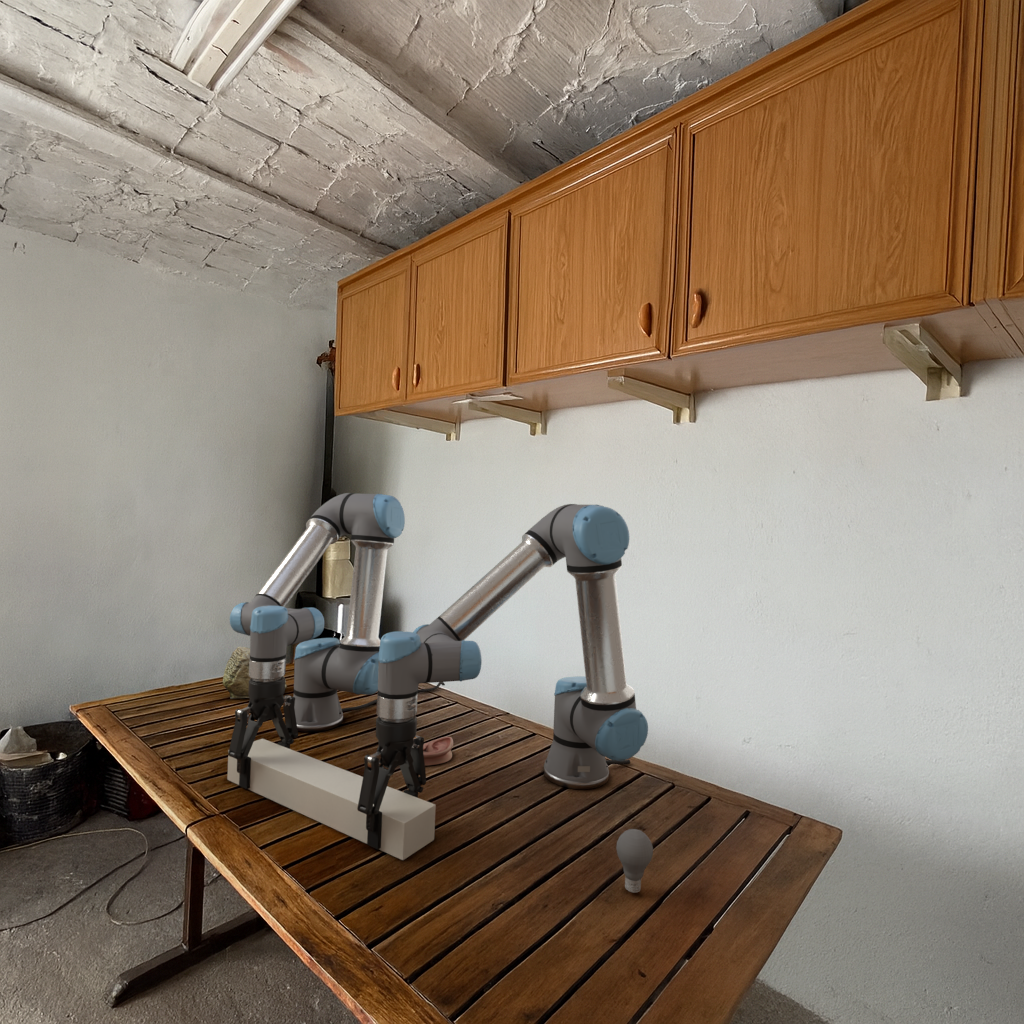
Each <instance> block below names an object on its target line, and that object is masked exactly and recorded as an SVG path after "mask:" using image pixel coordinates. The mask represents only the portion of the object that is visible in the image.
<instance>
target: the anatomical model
mask: <svg viewBox="0 0 1024 1024" xmlns="http://www.w3.org/2000/svg"><path fill="white" fill-rule="evenodd" d="M453 747H454V739H453V737H452V736H443V737H439V738H437V739H436V738H435V739H433V740H431V741H428V742H424V745H423V753H424V763H425V766H434V765H435V766H436V765H439V764H440V765H441V764H444V763H446V762H449V761H450V760H452V758H453V752H452V750H453Z"/></svg>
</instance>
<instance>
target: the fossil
mask: <svg viewBox="0 0 1024 1024" xmlns="http://www.w3.org/2000/svg"><path fill="white" fill-rule="evenodd" d="M249 661H250V647H247V646H246V647H245V646H238V647H237V648H236V649H235V650H233V651H232V653H231V656H230V657H229V659H228V660H227V663H226V666H225V668H224V671H223V675H222V676H223V677H222V685H223V687H224V688H225V690H226V691H228V693H229V698H230V699H249V695H248V688H249V680H250V679H251V678H250V677H249ZM283 677H284V678H285V675H284V676H283ZM287 687H288V686H287V680H286V678H285V691H286V689H287Z"/></svg>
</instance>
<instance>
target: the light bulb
mask: <svg viewBox="0 0 1024 1024" xmlns="http://www.w3.org/2000/svg"><path fill="white" fill-rule="evenodd" d="M615 849H616V854H617V857H618V859H619V861H620V863H621V865H622V867H623V873H624V874H623V875H624V876H625V878H624V888H625V890H627V891H628V892H630V893H634V894H635V893H639V892H640V891H641V889H642V887H641V886H642V879H643V877H644V875H645V871H646V868H647V867H648V866H649V864H650V863H651V861H652V859H653V855H654V847H653V843H652V841H651V838H649V836H648V835H647V834H646V833H645V832H643V831H642V830H641V829H636V828H629V829H627V830H625V831H623V832H622V833H621V834H620V835H619V837H618V839H617V841H616V847H615Z"/></svg>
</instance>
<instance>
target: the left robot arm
mask: <svg viewBox="0 0 1024 1024" xmlns="http://www.w3.org/2000/svg"><path fill="white" fill-rule="evenodd" d="M404 511H405V510H404V508H403V506H402V504H401V502H400V501H399V499H397V498H396V497H395V496H393V495H389V494H382V493H358V492H357V493H356V492H346V493H345V492H344V493H340V494H339V495H336V496H334V497H332V498H330V499H328V500H327V501H326V502H324V503H323V504H322V505H321V506H319V507H318V509H316V511H314V512H313V514H312V515H310V517H309V519H308V520H307V521H306V523H305V530H304V531H303V532H302V533H301V535H300V537H299V538H298V539H297V540H296V542H295V543H294V545H292V547H291V548H290V549H289V551H288V552H287V553H286V555H285V556H284V557H283V559H282V560H281V561H280V563H278V565H277V566H276V568H275V569H274V570H273V572H272V573H271V574H270V575H269V577H268V579H267V580H265V582H264V584H263V585H262V586H261V587H260V589H259V590H258V591H257V593H256V594H255V595H254V596H253V598H252V599H251V601H250V602H249V601H245V602H240V603H238V604H236V605H235V606H234V607H233V608H232V610H231V612H230V614H229V624H230V627H231V629H232V630H233V631H234V632H235V633H237V634H241V635H246V636H248V637H250V638H249V639H250V641H249V648H250V661H249V677H250V678H251V679H250V680H249V688H248V695H249V698H248V699H249V700H248V704H247V705H246V706H245V707H244V708H236V709H235V711H234V717H235V720H234V721H235V722H234V725H233V729H232V730H233V731H232V735H231V740H230V744H229V748H228V750H229V753H228V752H227V753H228V754H227V756H228V755H229V756H230V757H233V758H235V759H237V772H238V773H239V785H238V787H241V788H242V789H246V790H249V788H250V770H251V758H250V757H248V754H249V752H250V749H251V747H252V744H253V742H254V741H256V740H255V739H256V737H257V735H258V732H259V730H260V728H261V727H262V726H263V724H264V722H267V721H268V720H271V722H272V723H273V727H274V728H275V731H276V733H277V735H278V738H279V740H280V741H278V742H277V743H276V744H278V745H281V746H283V747H286V748H289V749H291V745H293V744H294V742H295V739H297V738H298V737H299V732H301V733H316V732H325V731H329V730H332V729H335V728H337V727H339V726H340V725H342V723H343V722H344V714H343V712H350V711H357V710H361V709H364V708H367V707H369V706H372V705H374V704H377V698H376V699H374V700H371V701H369V702H367V703H364V704H361V705H357V706H350V707H343V708H342V706H341V702H340V699H339V695H338V691H340V692H347V693H351V694H354V695H358V696H359V695H363V696H364V695H366V696H370V695H374V694H376V693H378V665H379V660H378V657H379V649H380V640H381V638H380V637H379V635H380V625H381V616H382V606H383V597H384V590H385V589H384V587H385V579H386V578H385V577H386V568H387V560H388V559H387V558H388V552H389V551H388V550H389V549H391V548H392V547H393V546H394V544H395V539H396V538H399V537H400V536H401V535H402V534H403V531H404V529H405V525H406V523H405V522H406V520H405V519H406V518H405V517H406V516H405V512H404ZM346 535H351V536H350V542H351V543H352V544H353V546H355V551H354V552H355V553H354V559H353V560H354V561H353V571H352V579H351V588H350V597H349V606H348V616H347V625H346V635H345V636H344V637H343V638H342V639H340V640H339V638H337V637H321V638H318V637H319V636H320V635H322V633H323V631H324V629H325V617H324V616H323V613H322V612H321V611H320V610H319V609H317V608H316V607H302V608H289V607H286V606H287V605H288V604H289V602H290V601H291V599H293V597H294V596H295V594H296V592H297V591H298V589H300V587H301V585H302V584H303V583H304V582H305V580H306V579H307V577H308V576H309V575H310V573H311V572H312V570H314V568H315V566H316V565H317V563H318V562H319V561H320V559H321V558H322V556H323V555H324V553H326V551H327V549H328V548H329V546H330V545H334V544H336V543H337V542H338V541H339V539H340V538H341V537H342V536H346ZM295 644H297V645H296V647H295V652H294V653H295V654H294V657H293V660H294V661H293V662H294V668H293V669H294V670H293V695H289V694H285V691H286V690H285V680H286V678H284V677H285V675H286V668H287V667H286V666H287V647H288V646H289V647H290V646H293V645H295ZM283 676H284V677H283ZM440 686H446V684H445V682H437V684H436V685H435V686H433V687H430V688H422V689H421V688H420V689H419V688H418V693H427V692H434V691H437V689H439V687H440ZM284 694H285V695H284ZM281 709H283V713H282V710H281ZM249 714H250V715H249Z"/></svg>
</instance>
